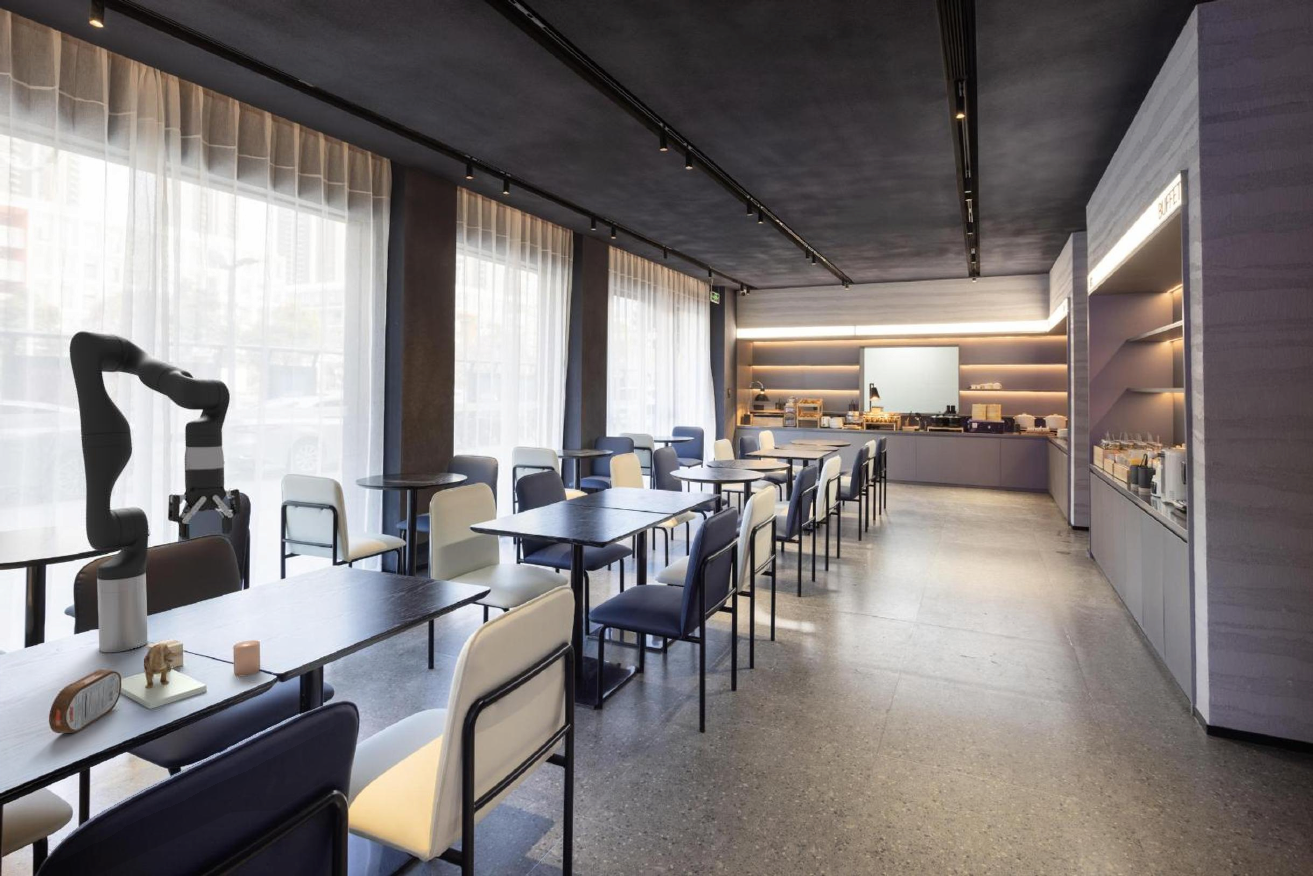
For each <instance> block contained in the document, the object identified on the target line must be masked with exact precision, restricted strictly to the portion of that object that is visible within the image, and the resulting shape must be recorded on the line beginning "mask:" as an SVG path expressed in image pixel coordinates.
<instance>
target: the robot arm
mask: <svg viewBox="0 0 1313 876" xmlns="http://www.w3.org/2000/svg"><path fill="white" fill-rule="evenodd" d="M69 360H70V365H71V371H72V374H73V379H74V384H75V388H76V393H77V401H78V409H79V419H80V435H81V437H80V438H81V448H82V456H83V457H82V458H83V462H84V463H83V465H84V474H85V486H86V489H85V494H86V495H85V497H86V498H85V500H86V501H85V531H86V538H87V541H88V543H89V546H90V547H91V548H92V549H94V550H95V551H106V550H112V549H113V550H115V549H120V550H119V552H118V553H117V554H115V556H114V557H112V558H110V559H109V560H107V561H104V562H103V563H101V564H99V565H98V567H97V569H96V579H97V580H96V583H97V612H98V615H97V616H98V647H99V648H98V650H99V651H100V652H101V653H102V652H103V653H118V652H125V651H130V649H131V650H134V649H133V648H135V649H137V647H138V648H140V646H141V647H143V646H145V645H146V644H147V643H148V642H147V641H148V611H147V610H148V607H147V604H148V601H147V577H146V576H147V575H146V574H147V572H146V571H147V569H146V567H147V563H148V555H149V553H148V551H149V549H148V546H149V522H148V517H147V515H146V512H145V511H144V510H143V509H142V508H140V507H136V506H135V507H134V506H133V507H124V508H114V509H111V500H112V499H111V497H112V492H113V490H114V486H115V484H116V482H117V481H118V479H119V477H120V476H121V474H122V473H123V471H124V470H125V467H126V466H127V464H128V463H129V461H130V459H131V457H132V453H133V446H132V444H133V442H132V433H131V427H130V424H129V421H128V419H127V418H126V417H125V415H124V414H123V412H122V411H121V410H120V409H119V407H118V406H117V405H116V403H115V402H114V401H113V400H112V398H111V397H110V394H109V393H108V391H107V389H106V386H105V382H104V377H103V373H125V374H129V375H134V376H136V377H138V379H139V380H140V382H141V383H142V384H143V385H144V386H145V387H147V388H149V389H151V390H153V391H154V392H156V393H160V394H162V395H164V396H166V397H168V399H169V400H171V401H172V402H173V403H174V404H175V405H177V406H178V407H181V408H183V409H186V410H191V411H192V410H195V411H196V410H197V411H199V410H202V411H201V413H200V417H199V418H198V419H195V420H191V421H188V422H187V423H186V425H185V428H184V432H185V434H184V435H185V436H184V437H185V443H184V444H185V450H184V486H185V492H184V494H177V493H176V494H174V493H171V494H169V496H168V513H167V519H168V521H170V522H175V523H177V524H178V536H179V538H181V539H182V540H183V541H188V540H190V539H191V538H190V537H191V536H190V523H189V521H191V519H192V518H193V516H195V515H196V513H197V512H205V511H208V510H209V511H215V510H216V511H217V512H218V513H219V514H220V515H221V516H222V517H221V533H222V534H224V535H228V534H230V533H231V531H233V517H234V516H236V515H240V514H241V511H242V509H241V506H242V505H241V497H240V490H239V489H238V488H229V489H227V490H226V489H225V487H224V486H225V455H224V450H223V426H224V423H225V419H226V416H227V413H228V408H229V406H230V399H231V397H230V395H231V394H230V391H229V388H228V386H227V385H226V383H224V382H223V381H222V380H219V379H214V378H194V377H193V375H192V374H191V373H190V372H189V371H187V370H186V369H184V368H181V367H178V366H177V365H175V364H173V363H169V362H167V361H164V360H163V359H160V358H157V357H155V356H154V355H152V354H150V353H149V352H147V351H145V350H144V349H142V348H141V347H139V346H138V345H137V344H136V343H134V342H132V341H131V340H129V339H128V338H127V337H124V336H122V335H119V334H114V333H113V334H112V333H106V332H99V331H98V332H97V331H90V330H89V331H86V330H85V331H84V330H83V331H82V330H81V331H78V332H76V333H75V334H74V335H73V336H72V337H71V340H70V343H69ZM226 497H227V499H229V507H228V506H227V505H226V503H224V502H223V500H225V498H226ZM183 501H185V502H186V503H187V504H186V505H185V506H184V508H183V509H182V512H181V513H180V509H181V508H180V507H181V504H182V503H183ZM229 508H230V509H229Z"/></svg>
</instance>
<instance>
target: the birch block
mask: <svg viewBox="0 0 1313 876" xmlns="http://www.w3.org/2000/svg"><path fill="white" fill-rule="evenodd" d="M160 643H161V644H166V645H168V649H170V650H171V652H173V653H175V654H177V656H176V658H174V661H173V663H170V667H171V669H173V668H172V667H174V668H177V667H176V666H178V667H180V665H181V666H184V643H183V642H181V641H178V640H176V639H174V638H171V639H168V640H163V641H159V642H155V643H151V644H148V645H147V646H146V647H147V650H146V653H148V651H149V650H150V649H151V648H152V647H153V646H155V645H157V644H160Z"/></svg>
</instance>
